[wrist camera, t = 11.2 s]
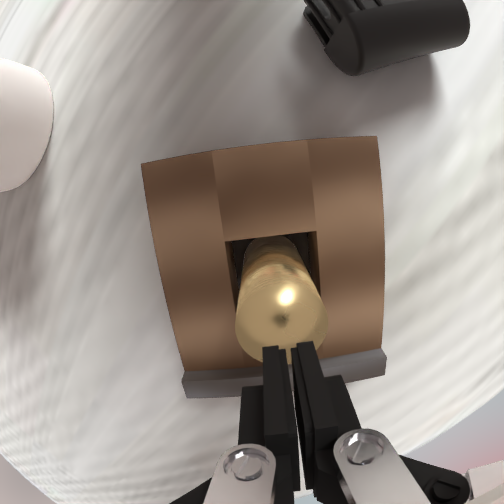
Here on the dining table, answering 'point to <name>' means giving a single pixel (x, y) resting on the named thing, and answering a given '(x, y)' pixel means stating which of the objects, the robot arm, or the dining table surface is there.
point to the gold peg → (277, 299)
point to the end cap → (385, 30)
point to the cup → (22, 122)
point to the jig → (262, 225)
